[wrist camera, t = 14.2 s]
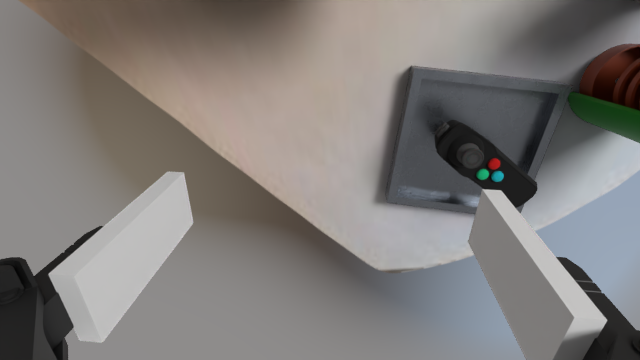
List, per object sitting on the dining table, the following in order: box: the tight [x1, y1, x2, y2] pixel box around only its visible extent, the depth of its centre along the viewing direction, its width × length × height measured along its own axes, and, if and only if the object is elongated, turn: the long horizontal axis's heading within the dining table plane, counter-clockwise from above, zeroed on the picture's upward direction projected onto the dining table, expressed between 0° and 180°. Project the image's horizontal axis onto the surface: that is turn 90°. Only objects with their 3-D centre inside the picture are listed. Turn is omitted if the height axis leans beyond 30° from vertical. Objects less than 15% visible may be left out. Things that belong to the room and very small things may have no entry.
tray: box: [385, 66, 573, 214], centre depth 41 cm, size 17×17×2 cm
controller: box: [434, 120, 537, 208], centre depth 37 cm, size 4×12×10 cm, turn 54°
